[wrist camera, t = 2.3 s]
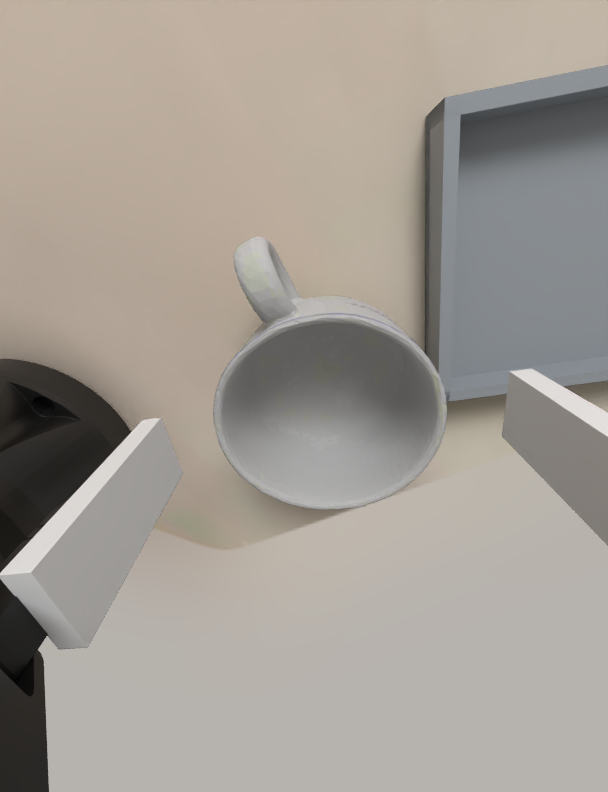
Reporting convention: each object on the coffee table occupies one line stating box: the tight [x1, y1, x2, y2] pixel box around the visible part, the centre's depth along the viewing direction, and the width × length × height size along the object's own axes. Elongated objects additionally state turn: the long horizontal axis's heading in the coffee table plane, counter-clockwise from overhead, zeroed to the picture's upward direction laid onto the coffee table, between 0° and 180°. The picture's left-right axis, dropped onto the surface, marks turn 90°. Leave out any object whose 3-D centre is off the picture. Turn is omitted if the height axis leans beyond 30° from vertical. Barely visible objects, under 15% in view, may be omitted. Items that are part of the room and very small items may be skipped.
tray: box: [425, 65, 608, 402], centre depth 18 cm, size 18×15×2 cm
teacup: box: [213, 237, 447, 510], centre depth 18 cm, size 14×11×8 cm
